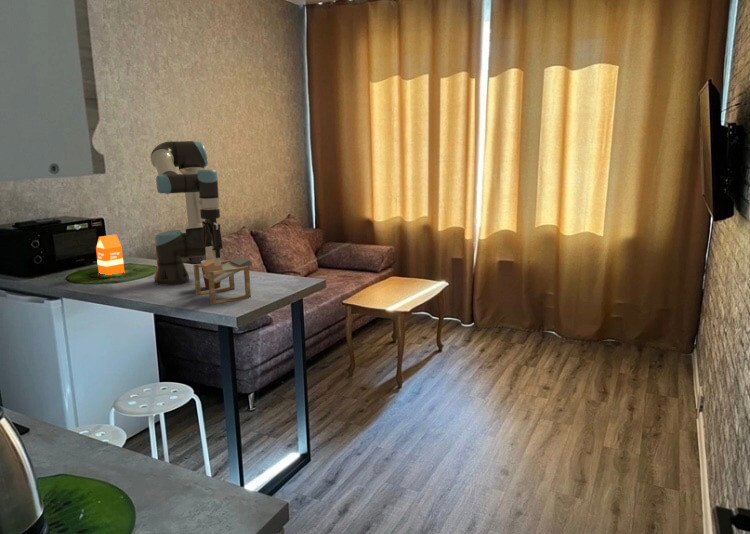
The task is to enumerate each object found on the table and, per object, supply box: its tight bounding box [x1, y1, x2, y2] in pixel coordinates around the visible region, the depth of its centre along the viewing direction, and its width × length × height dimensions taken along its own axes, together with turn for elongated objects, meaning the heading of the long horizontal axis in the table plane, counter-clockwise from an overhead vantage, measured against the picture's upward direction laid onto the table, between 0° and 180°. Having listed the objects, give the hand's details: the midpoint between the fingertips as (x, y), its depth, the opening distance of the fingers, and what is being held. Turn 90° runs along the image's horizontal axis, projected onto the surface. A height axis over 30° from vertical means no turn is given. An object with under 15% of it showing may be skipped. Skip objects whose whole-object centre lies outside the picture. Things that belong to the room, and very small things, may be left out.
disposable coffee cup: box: [200, 259, 223, 290], centre depth 249 cm, size 10×10×12 cm
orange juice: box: [95, 233, 125, 275], centre depth 271 cm, size 8×9×20 cm
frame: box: [193, 259, 252, 305], centre depth 234 cm, size 19×17×13 cm
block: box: [200, 257, 223, 278], centre depth 231 cm, size 6×6×6 cm
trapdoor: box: [202, 255, 253, 283], centre depth 235 cm, size 15×18×2 cm
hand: (213, 263), depth 231 cm, fingers open, 8 cm apart
